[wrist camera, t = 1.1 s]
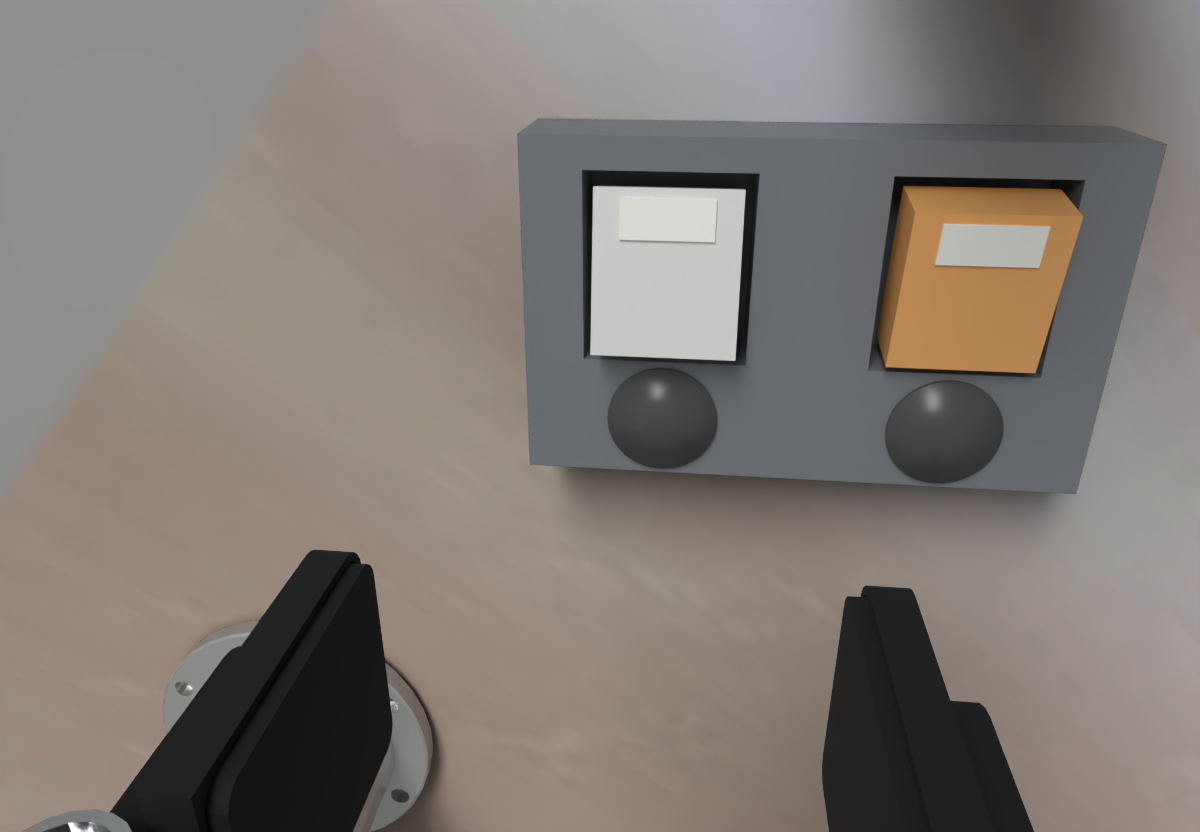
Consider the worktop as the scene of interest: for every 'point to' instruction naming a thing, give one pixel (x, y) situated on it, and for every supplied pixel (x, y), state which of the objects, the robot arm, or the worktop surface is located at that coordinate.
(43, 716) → the worktop surface
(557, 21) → the worktop surface
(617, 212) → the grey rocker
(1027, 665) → the worktop surface
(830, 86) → the worktop surface
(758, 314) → the grey switch box
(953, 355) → the labelled cardboard parcel
